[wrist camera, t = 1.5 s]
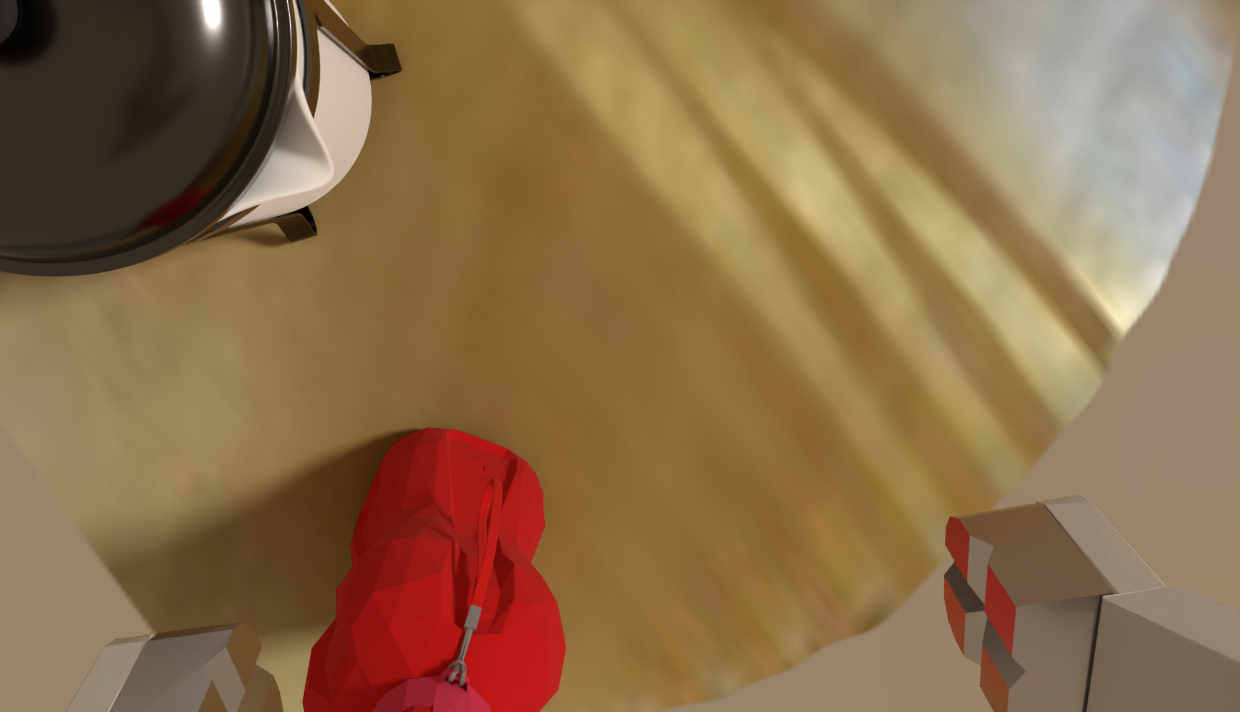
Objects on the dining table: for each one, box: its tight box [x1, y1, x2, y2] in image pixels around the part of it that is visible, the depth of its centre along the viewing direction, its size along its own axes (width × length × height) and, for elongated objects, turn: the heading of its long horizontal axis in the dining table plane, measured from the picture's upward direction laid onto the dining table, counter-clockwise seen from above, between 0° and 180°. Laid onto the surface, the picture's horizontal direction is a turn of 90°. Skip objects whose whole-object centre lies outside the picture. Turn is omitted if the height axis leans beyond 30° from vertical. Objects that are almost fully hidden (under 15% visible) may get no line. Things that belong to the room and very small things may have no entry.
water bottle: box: [303, 427, 566, 712], centre depth 41 cm, size 9×11×25 cm
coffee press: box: [0, 0, 402, 276], centre depth 33 cm, size 17×16×30 cm
